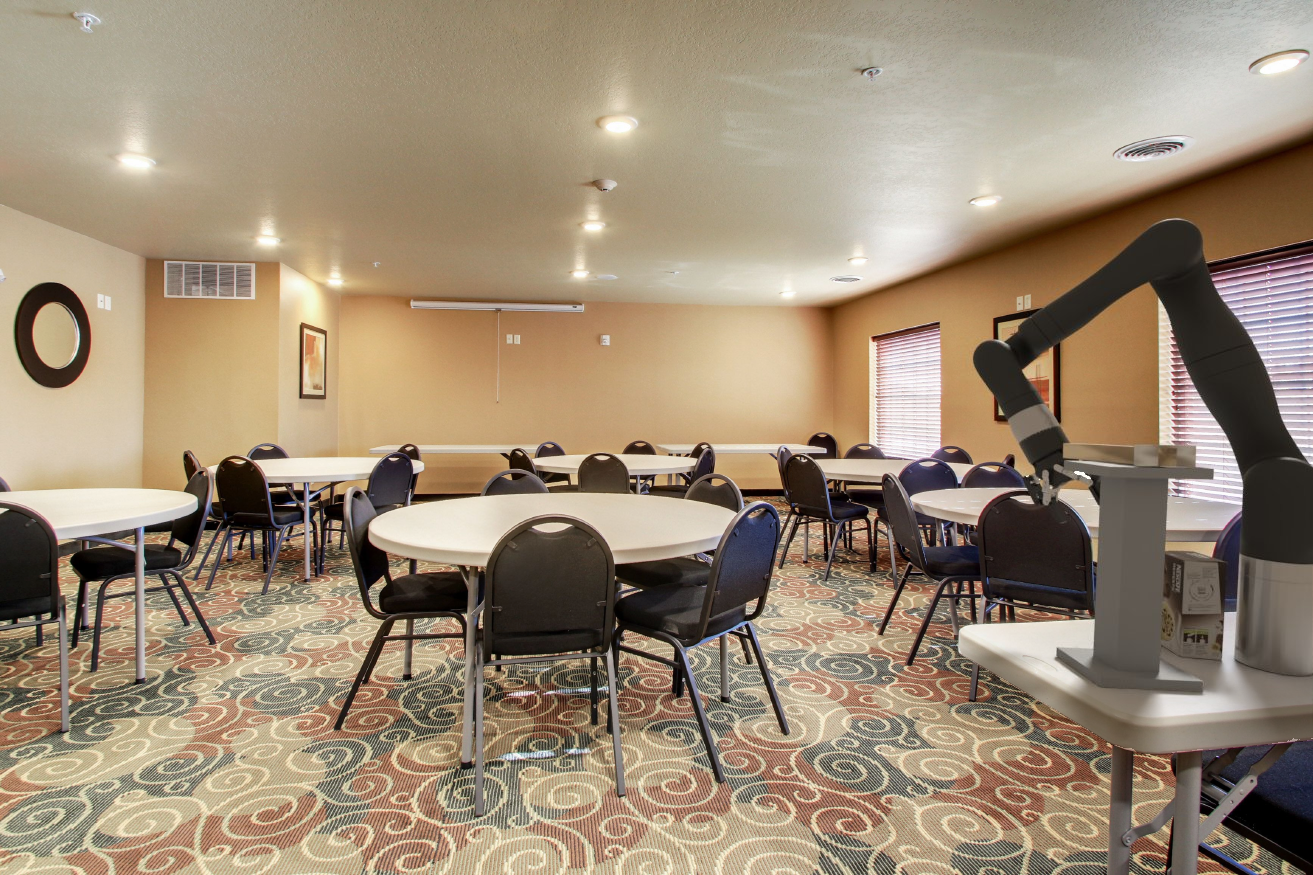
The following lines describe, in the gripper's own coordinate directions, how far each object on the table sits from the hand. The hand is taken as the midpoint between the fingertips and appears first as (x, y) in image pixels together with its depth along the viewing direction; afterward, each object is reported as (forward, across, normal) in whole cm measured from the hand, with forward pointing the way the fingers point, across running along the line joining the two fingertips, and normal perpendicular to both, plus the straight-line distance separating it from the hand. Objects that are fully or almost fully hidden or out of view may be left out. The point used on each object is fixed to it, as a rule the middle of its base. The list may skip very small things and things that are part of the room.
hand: (1084, 514), depth 117 cm
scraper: (-5, -14, +7) cm, 17 cm away
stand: (+25, -2, +14) cm, 28 cm away
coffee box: (+26, +1, -7) cm, 27 cm away
